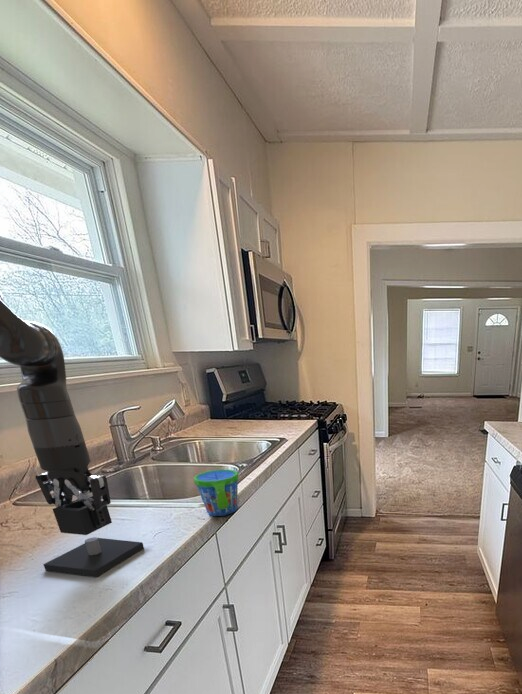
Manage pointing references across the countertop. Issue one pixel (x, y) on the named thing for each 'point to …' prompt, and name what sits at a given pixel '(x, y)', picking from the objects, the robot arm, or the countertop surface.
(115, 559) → the base pad
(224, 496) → the snack cup
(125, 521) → the countertop surface
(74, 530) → the socket block
